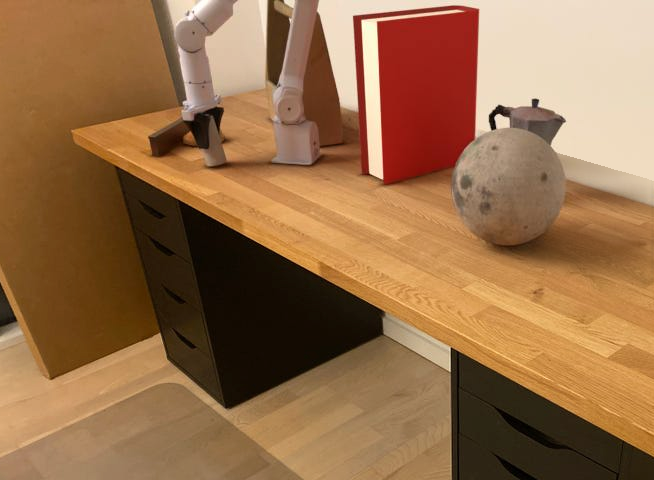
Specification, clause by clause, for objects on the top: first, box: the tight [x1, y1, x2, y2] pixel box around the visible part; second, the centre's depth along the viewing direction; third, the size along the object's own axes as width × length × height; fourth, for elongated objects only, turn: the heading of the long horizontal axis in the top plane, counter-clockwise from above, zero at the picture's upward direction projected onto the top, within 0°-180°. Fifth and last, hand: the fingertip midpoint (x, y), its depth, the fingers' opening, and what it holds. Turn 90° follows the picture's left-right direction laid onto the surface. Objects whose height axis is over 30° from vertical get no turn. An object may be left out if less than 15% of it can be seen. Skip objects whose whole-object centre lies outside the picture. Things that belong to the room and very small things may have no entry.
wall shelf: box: [147, 117, 190, 157], centre depth 172 cm, size 2×18×4 cm, turn 171°
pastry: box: [182, 128, 225, 147], centre depth 174 cm, size 9×7×4 cm
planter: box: [200, 114, 228, 167], centre depth 159 cm, size 4×4×10 cm
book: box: [352, 4, 480, 186], centre depth 155 cm, size 27×8×32 cm, turn 131°
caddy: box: [264, 0, 344, 147], centre depth 177 cm, size 29×11×30 cm, turn 28°
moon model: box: [450, 127, 567, 246], centre depth 126 cm, size 20×20×20 cm
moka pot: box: [488, 98, 567, 147], centre depth 144 cm, size 10×15×20 cm, turn 78°
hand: (209, 145), depth 160 cm, fingers closed on planter, 4 cm apart
